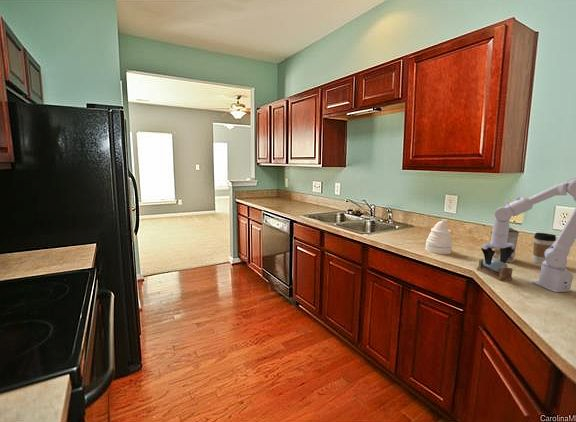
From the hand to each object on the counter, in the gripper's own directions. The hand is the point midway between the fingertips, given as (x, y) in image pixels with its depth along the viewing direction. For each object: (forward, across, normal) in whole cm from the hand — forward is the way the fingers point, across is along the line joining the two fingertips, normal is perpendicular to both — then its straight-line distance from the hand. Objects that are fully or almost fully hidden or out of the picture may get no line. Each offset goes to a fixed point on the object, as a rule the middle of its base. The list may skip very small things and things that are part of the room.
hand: (495, 263), depth 134 cm
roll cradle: (+5, 0, 0) cm, 5 cm away
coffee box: (+5, -23, -18) cm, 30 cm away
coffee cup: (+5, -38, -11) cm, 40 cm away
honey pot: (+5, +2, -35) cm, 35 cm away
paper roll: (+3, 0, 0) cm, 3 cm away
